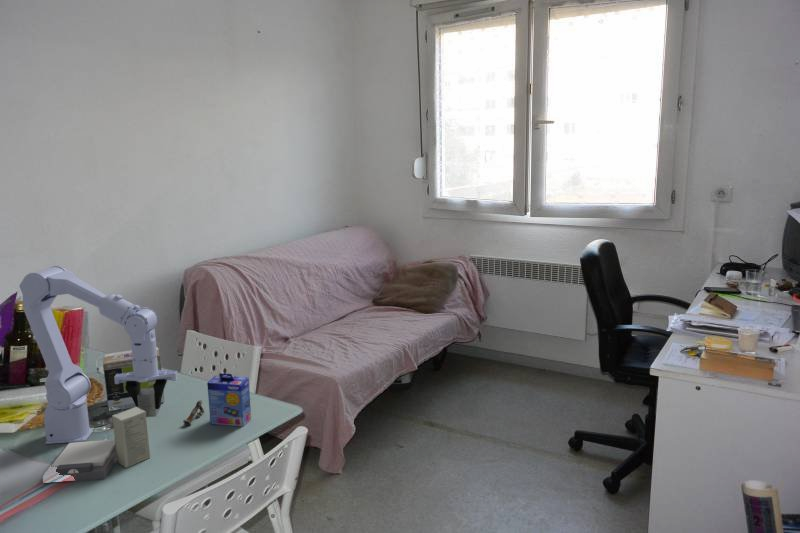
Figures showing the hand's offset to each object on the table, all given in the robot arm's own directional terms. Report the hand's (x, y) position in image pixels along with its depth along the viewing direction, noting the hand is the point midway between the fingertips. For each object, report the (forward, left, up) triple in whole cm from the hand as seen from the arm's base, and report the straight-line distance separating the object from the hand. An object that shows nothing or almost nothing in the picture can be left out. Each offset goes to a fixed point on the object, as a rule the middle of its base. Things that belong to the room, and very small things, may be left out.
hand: (148, 408), depth 150 cm
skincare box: (-1, -11, -9) cm, 14 cm away
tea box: (-10, +24, -9) cm, 28 cm away
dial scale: (-12, -12, -8) cm, 19 cm away
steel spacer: (0, 0, -2) cm, 2 cm away
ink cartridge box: (+19, +6, -9) cm, 22 cm away
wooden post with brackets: (+9, +9, -9) cm, 15 cm away
